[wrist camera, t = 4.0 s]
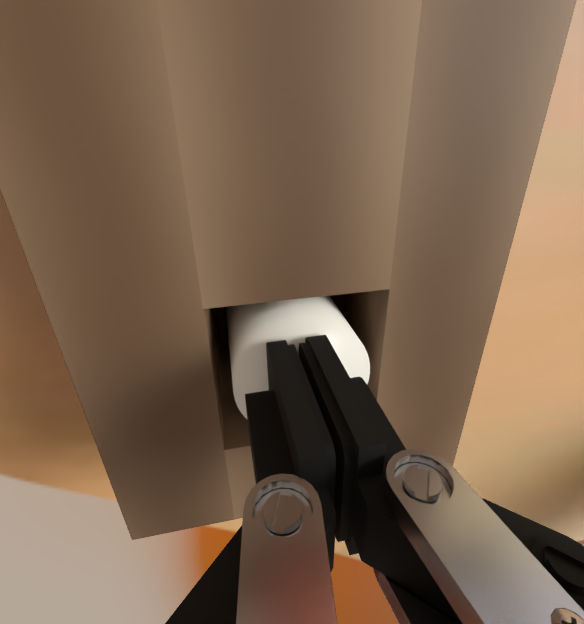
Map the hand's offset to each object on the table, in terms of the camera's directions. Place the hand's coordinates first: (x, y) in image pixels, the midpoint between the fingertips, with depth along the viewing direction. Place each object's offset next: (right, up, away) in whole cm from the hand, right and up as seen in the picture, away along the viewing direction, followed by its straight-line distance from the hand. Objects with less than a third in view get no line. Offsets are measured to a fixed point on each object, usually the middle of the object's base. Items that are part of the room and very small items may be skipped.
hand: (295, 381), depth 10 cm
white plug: (-1, +2, +5) cm, 6 cm away
